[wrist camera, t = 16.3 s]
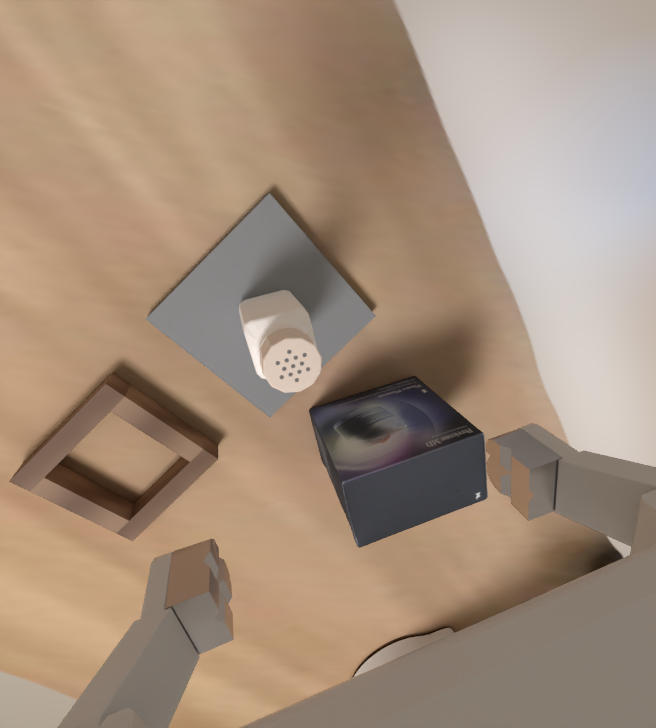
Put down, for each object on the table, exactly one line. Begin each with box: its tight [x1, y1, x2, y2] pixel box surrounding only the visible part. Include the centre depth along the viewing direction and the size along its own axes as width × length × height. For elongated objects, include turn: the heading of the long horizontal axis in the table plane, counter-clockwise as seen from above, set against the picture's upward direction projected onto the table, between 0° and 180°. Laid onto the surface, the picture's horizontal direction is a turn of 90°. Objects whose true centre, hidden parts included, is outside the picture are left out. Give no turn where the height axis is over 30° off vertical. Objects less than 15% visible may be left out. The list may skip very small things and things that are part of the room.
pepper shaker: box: [239, 290, 322, 393], centre depth 24 cm, size 4×4×10 cm
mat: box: [146, 193, 375, 417], centre depth 29 cm, size 12×12×1 cm
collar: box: [9, 373, 218, 541], centre depth 30 cm, size 10×10×2 cm
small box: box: [309, 376, 488, 547], centre depth 31 cm, size 11×6×10 cm, turn 102°
